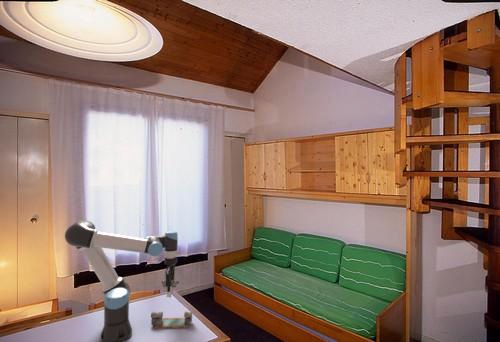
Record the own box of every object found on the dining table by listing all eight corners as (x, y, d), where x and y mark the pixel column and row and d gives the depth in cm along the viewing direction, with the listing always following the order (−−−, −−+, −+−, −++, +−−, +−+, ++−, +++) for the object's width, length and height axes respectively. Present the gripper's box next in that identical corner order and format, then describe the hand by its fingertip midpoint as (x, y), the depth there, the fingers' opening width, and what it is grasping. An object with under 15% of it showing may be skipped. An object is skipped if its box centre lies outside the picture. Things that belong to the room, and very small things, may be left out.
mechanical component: (177, 297, 163) (177, 281, 163) (160, 297, 163) (161, 281, 163) (178, 295, 166) (179, 279, 166) (162, 295, 166) (162, 279, 166)
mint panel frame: (149, 328, 149) (149, 315, 149) (154, 319, 158) (154, 307, 158) (190, 328, 149) (190, 315, 149) (193, 319, 158) (193, 307, 158)
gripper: (173, 261, 157) (172, 301, 156) (180, 253, 173) (179, 289, 173) (160, 260, 157) (159, 301, 156) (168, 253, 173) (167, 289, 172)
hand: (169, 295), depth 164 cm, fingers closed on mechanical component, 3 cm apart
